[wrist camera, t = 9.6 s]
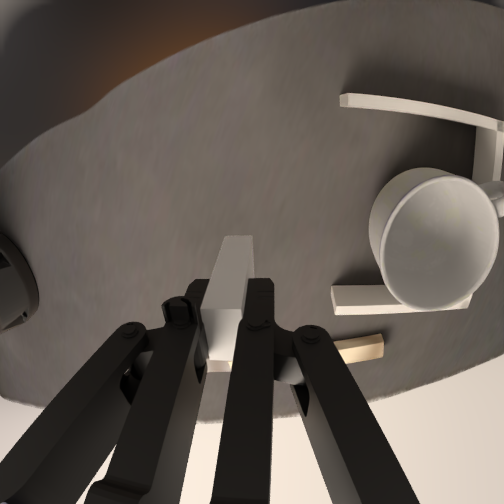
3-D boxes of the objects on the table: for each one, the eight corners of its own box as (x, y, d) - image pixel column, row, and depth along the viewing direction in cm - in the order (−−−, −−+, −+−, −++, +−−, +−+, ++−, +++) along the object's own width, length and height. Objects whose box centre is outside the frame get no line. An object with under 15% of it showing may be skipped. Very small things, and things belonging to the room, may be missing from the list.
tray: (330, 293, 30) (335, 314, 27) (339, 95, 22) (348, 92, 18) (454, 290, 28) (467, 307, 25) (483, 118, 20) (504, 122, 17)
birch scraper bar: (198, 367, 37) (195, 376, 36) (192, 354, 36) (189, 363, 35) (380, 348, 33) (382, 357, 31) (381, 333, 32) (383, 342, 30)
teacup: (373, 279, 29) (395, 331, 22) (341, 179, 25) (363, 208, 18) (484, 233, 25) (525, 269, 18) (468, 134, 21) (520, 149, 14)
